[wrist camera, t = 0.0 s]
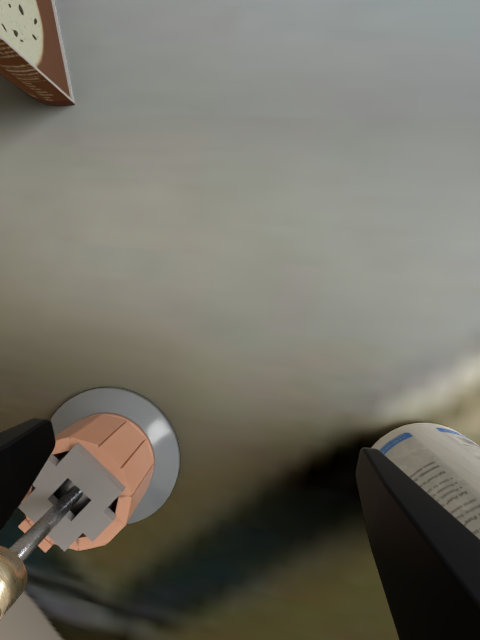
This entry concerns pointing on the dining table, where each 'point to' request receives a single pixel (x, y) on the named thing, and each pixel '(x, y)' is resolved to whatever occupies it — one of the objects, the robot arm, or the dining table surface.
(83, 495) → the plunger
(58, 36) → the food container
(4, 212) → the dining table surface
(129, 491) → the orange slatted barrel
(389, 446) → the supplement tub
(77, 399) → the disc
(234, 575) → the dining table surface
